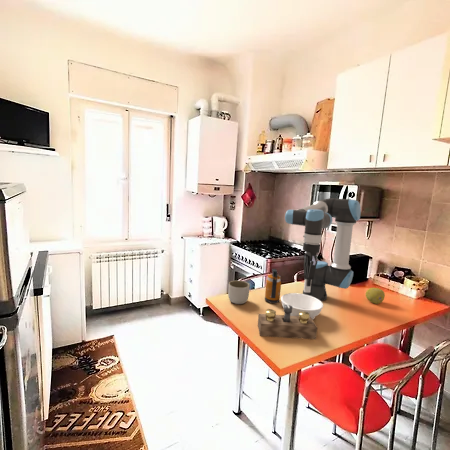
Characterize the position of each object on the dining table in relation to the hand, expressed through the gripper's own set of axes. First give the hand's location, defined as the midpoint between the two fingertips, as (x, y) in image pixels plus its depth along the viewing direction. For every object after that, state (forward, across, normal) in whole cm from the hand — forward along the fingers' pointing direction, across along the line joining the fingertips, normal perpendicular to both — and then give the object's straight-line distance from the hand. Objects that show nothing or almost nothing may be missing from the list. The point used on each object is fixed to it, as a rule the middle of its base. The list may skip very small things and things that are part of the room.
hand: (306, 291), depth 128 cm
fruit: (+22, -44, +58) cm, 76 cm away
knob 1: (+20, 0, -16) cm, 26 cm away
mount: (+21, 0, -8) cm, 22 cm away
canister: (+21, -35, -9) cm, 42 cm away
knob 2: (+20, 0, 0) cm, 20 cm away
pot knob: (+17, 0, -8) cm, 19 cm away
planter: (+21, -32, -30) cm, 49 cm away
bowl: (+21, -19, +4) cm, 29 cm away
